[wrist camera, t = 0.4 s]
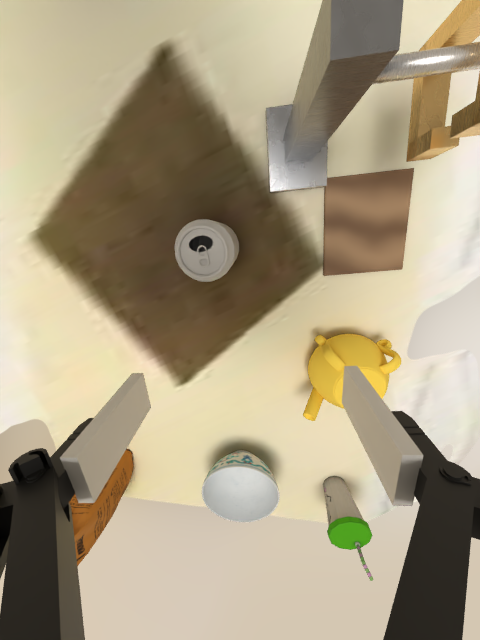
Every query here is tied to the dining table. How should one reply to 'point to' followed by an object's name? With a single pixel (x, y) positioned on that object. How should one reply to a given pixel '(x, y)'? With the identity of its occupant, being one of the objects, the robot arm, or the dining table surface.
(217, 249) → the can
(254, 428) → the dining table surface
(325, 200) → the walnut board
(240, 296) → the dining table surface
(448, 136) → the c link
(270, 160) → the stand
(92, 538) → the coffee package
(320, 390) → the teapot
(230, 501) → the chinaware
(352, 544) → the cup
